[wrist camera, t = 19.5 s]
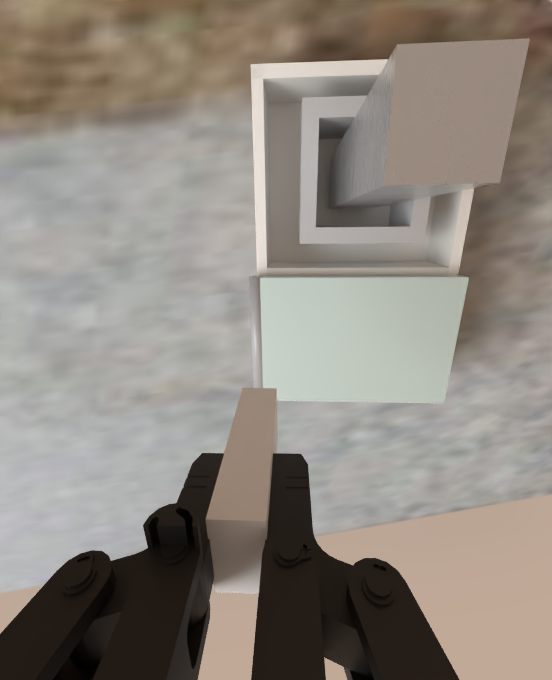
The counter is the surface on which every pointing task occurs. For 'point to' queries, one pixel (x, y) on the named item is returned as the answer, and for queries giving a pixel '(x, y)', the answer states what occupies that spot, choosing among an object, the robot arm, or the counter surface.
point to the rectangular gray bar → (430, 124)
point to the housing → (314, 179)
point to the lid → (355, 336)
